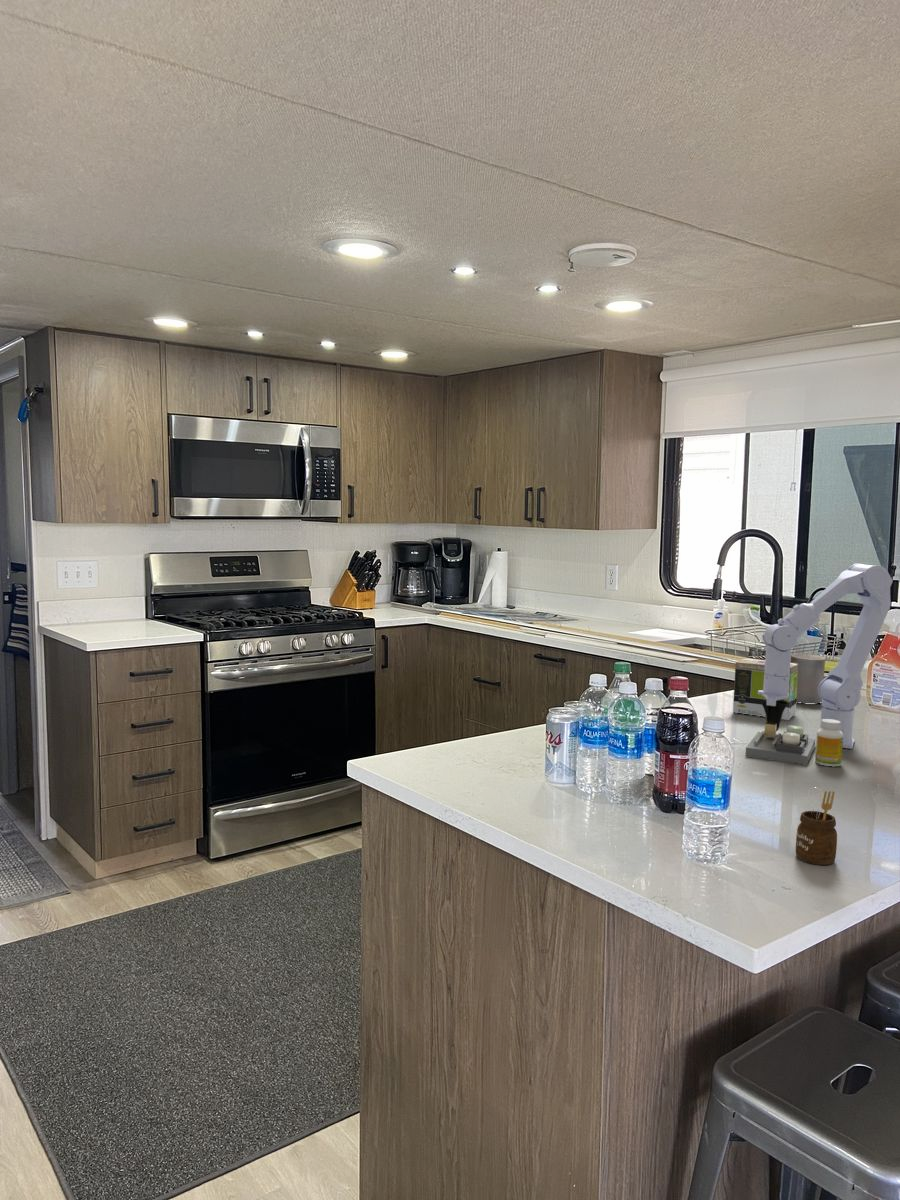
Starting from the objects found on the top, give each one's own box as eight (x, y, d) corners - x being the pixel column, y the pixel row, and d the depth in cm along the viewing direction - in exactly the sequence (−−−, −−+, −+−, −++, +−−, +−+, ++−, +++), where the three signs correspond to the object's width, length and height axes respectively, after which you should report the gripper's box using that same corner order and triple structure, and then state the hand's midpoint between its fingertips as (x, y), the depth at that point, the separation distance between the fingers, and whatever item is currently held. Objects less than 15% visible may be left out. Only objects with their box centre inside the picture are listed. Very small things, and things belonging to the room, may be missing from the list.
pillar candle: (784, 697, 274) (787, 648, 273) (817, 698, 273) (821, 650, 271) (791, 704, 265) (795, 654, 263) (826, 705, 263) (830, 655, 262)
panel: (757, 739, 219) (758, 725, 218) (814, 747, 213) (815, 732, 212) (745, 756, 203) (746, 740, 202) (806, 765, 197) (808, 749, 196)
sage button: (787, 734, 211) (788, 724, 211) (803, 736, 210) (804, 727, 209) (785, 737, 208) (786, 727, 208) (802, 739, 206) (802, 730, 206)
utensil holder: (824, 852, 144) (830, 779, 143) (843, 867, 138) (849, 791, 137) (788, 851, 144) (794, 778, 143) (805, 866, 138) (811, 790, 137)
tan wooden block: (765, 734, 213) (766, 722, 212) (775, 736, 212) (776, 723, 211) (764, 736, 211) (764, 723, 211) (774, 737, 210) (775, 725, 210)
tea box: (796, 715, 248) (799, 662, 247) (788, 721, 240) (792, 667, 239) (741, 707, 256) (744, 656, 255) (731, 713, 248) (735, 660, 247)
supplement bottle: (843, 768, 195) (846, 724, 194) (817, 766, 196) (820, 722, 195) (838, 761, 200) (841, 719, 200) (813, 759, 202) (815, 717, 201)
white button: (783, 741, 204) (784, 731, 204) (800, 743, 203) (800, 733, 202) (781, 744, 201) (781, 734, 201) (798, 746, 199) (799, 737, 199)
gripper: (763, 668, 223) (760, 722, 224) (754, 677, 210) (751, 733, 211) (793, 671, 220) (790, 726, 221) (786, 680, 207) (782, 738, 208)
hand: (773, 730), depth 216 cm, fingers closed
